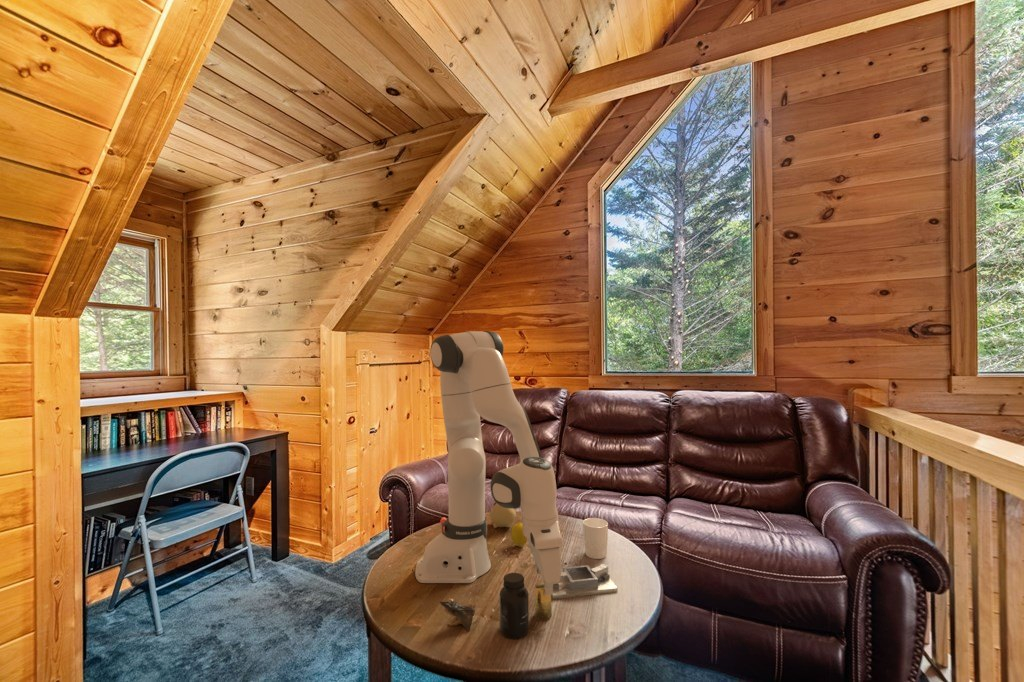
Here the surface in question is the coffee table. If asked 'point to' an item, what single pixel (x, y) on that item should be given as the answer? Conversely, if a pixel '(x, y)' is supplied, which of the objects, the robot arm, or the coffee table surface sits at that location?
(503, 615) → the supplement bottle
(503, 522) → the pale yellow wedge piece
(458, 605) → the shark head
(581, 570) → the shaft rig
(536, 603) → the cylinder
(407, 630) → the coffee table surface
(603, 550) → the white cup
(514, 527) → the lemon
